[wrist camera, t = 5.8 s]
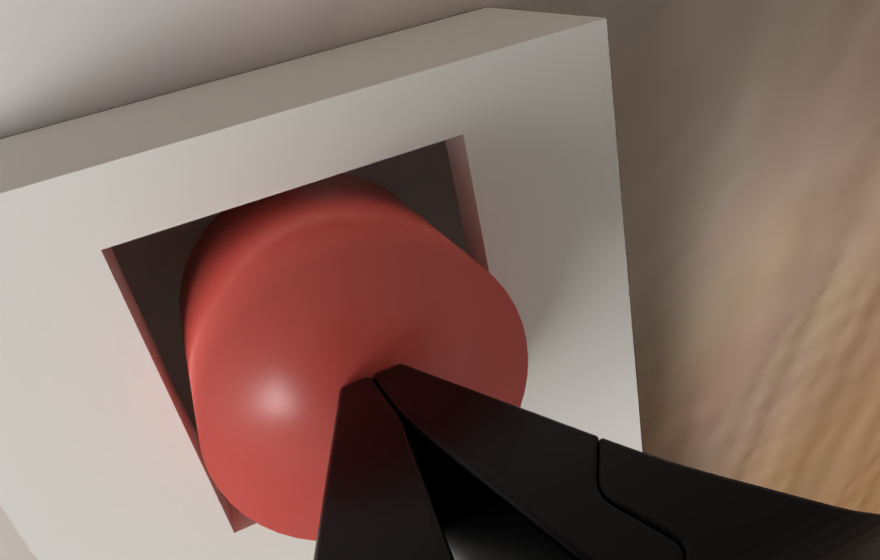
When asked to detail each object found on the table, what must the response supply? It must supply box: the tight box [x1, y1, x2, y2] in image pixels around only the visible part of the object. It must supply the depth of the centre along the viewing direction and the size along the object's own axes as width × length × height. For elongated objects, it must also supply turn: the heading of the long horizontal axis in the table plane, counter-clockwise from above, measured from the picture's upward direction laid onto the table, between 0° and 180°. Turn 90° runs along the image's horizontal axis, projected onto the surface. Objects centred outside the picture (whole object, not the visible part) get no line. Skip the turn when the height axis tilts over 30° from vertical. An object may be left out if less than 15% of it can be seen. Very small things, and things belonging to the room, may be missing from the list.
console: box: [0, 7, 642, 560], centre depth 15 cm, size 10×18×4 cm, turn 12°
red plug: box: [179, 173, 528, 541], centre depth 11 cm, size 4×4×3 cm
